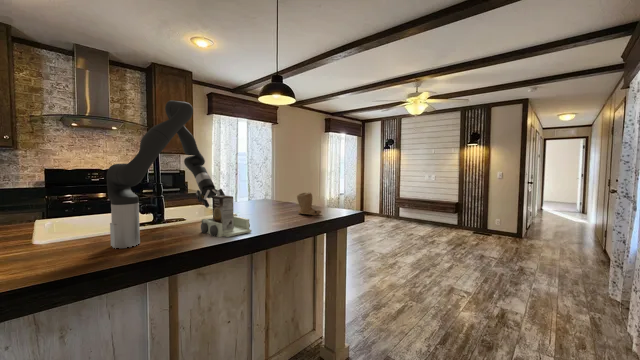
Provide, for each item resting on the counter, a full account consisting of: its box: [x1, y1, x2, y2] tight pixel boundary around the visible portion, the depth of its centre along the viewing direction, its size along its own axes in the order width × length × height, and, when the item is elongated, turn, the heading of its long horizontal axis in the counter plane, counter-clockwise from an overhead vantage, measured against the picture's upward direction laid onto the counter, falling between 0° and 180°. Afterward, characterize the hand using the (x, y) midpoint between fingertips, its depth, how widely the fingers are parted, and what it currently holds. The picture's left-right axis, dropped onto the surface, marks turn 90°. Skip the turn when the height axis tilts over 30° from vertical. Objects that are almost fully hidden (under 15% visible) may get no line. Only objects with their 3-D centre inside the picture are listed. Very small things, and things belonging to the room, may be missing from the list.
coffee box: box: [211, 194, 235, 230], centre depth 138 cm, size 9×6×16 cm
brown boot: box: [296, 191, 322, 216], centre depth 187 cm, size 15×12×15 cm
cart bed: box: [200, 215, 252, 238], centre depth 137 cm, size 19×21×6 cm
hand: (216, 205), depth 144 cm, fingers open, 8 cm apart
